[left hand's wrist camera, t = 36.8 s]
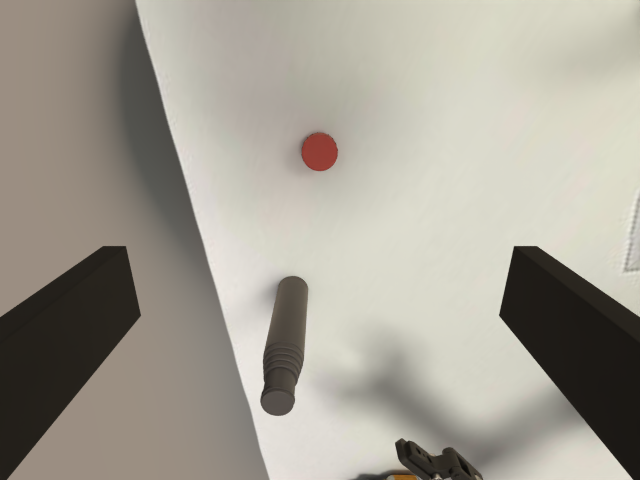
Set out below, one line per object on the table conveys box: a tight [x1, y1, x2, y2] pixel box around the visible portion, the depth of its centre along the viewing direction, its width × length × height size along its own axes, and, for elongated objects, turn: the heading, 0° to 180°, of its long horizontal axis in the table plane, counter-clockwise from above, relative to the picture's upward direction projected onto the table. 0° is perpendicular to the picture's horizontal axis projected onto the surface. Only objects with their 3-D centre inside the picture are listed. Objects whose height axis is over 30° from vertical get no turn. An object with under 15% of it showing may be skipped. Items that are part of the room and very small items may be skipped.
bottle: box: [260, 276, 308, 416], centre depth 41 cm, size 4×4×20 cm
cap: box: [302, 133, 338, 171], centre depth 42 cm, size 4×4×2 cm
